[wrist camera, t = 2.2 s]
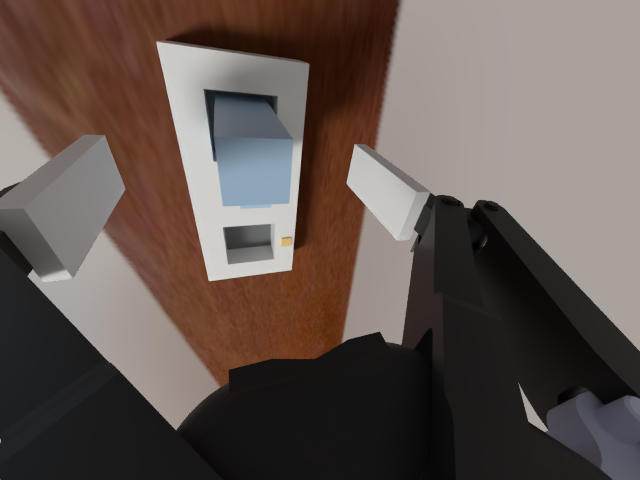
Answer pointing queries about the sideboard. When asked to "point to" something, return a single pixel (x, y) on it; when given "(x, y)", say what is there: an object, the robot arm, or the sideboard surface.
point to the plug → (251, 152)
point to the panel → (200, 155)
